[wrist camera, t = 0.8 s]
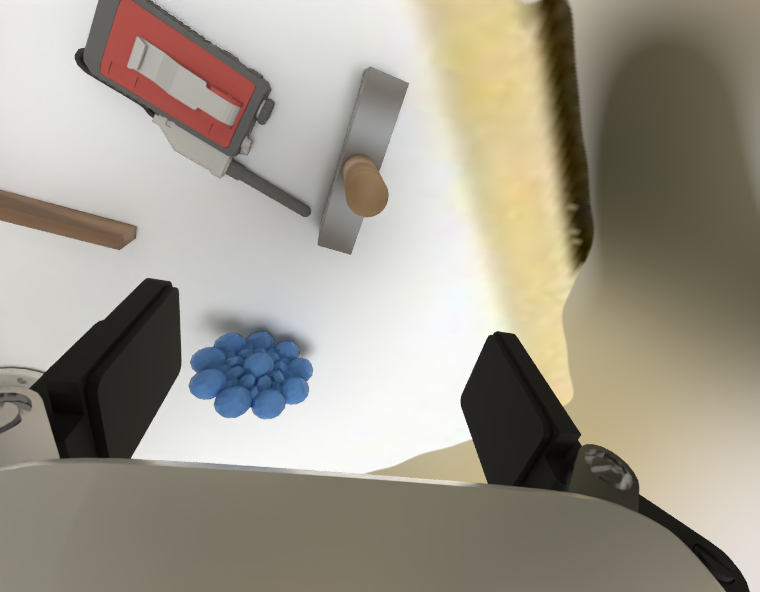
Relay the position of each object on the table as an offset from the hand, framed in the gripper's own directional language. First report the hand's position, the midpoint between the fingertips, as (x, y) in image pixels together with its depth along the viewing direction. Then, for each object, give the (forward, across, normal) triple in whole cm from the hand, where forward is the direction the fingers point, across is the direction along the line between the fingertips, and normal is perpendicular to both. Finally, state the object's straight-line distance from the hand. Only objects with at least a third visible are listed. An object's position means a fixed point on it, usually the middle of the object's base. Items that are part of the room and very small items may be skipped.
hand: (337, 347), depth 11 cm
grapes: (+26, +6, +20) cm, 34 cm away
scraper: (+27, -1, -1) cm, 27 cm away
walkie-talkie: (+27, +11, -2) cm, 29 cm away
